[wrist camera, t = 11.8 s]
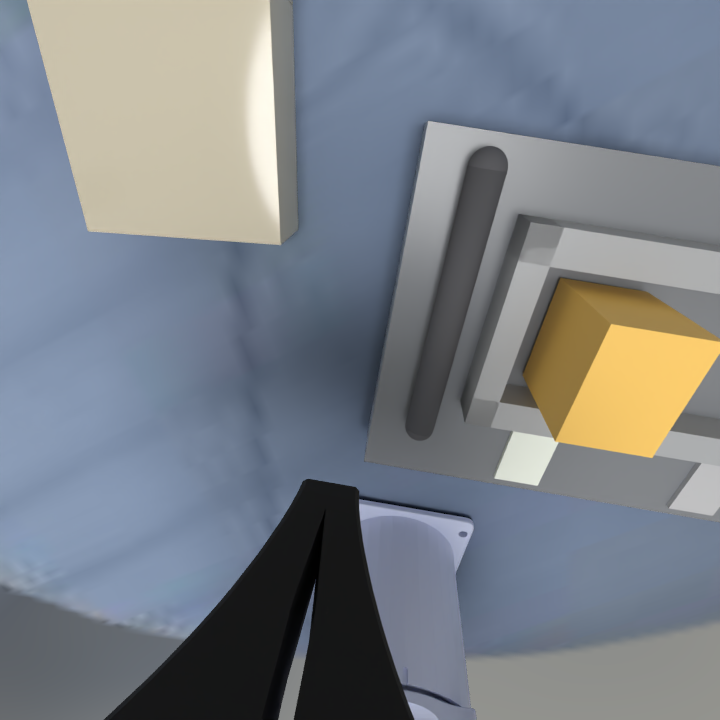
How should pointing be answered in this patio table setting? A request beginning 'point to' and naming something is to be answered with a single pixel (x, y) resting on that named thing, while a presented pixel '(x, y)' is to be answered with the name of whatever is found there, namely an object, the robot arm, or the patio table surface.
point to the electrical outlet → (177, 114)
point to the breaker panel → (530, 305)
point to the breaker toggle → (615, 367)
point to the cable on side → (456, 285)
